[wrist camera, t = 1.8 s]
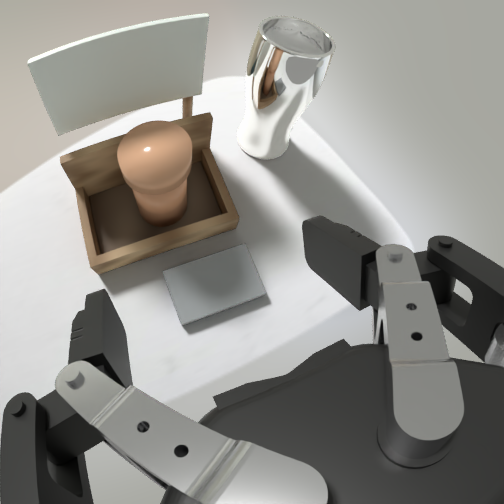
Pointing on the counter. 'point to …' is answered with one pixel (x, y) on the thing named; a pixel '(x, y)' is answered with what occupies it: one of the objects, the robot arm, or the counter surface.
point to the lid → (122, 71)
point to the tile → (213, 283)
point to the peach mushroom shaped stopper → (157, 170)
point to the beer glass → (281, 82)
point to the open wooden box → (125, 206)
